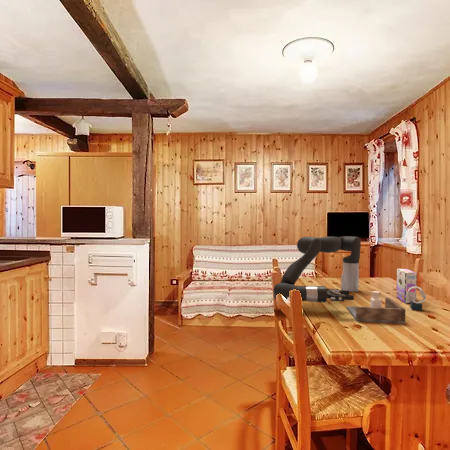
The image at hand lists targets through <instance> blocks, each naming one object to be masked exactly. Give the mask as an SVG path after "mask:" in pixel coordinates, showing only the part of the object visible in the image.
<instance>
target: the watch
mask: <svg viewBox="0 0 450 450" xmlns="http://www.w3.org/2000/svg"><path fill="white" fill-rule="evenodd" d="M413 288H416V289H417V290H418V291H419V294H420V295H421V297H422V298H423V299H422V300H420V301H416V302H415V301H412V299H411V297H410V295H409V291H410V290H411V289H413ZM407 295H408V297H409V299H410V300H411V301H410V303H409V307H410V309H411V311H417V312H419V311H420V312H423V304H422V303H424V302H425V300H426V297H427V295H426V293H425V292H424V290H423V288H422V287H419V286H417V287H416V286H414V287H411V288H409V289H408V291H407Z"/></svg>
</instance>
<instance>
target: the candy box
mask: <svg viewBox="0 0 450 450" xmlns="http://www.w3.org/2000/svg"><path fill="white" fill-rule="evenodd" d="M417 276H418V273H417V272H415V271H413V270H410V269H409V268H396V298H397V299H399V300H400V301H401V302H402V303H404V304H410V301H411V300H410V299H409V297H408V295H407V291H408V289H409V288H411V287H414V286H416V287H418V285H417V284H418V283H417V282H418V280H417V279H418V277H417ZM409 295H410V297H411V299H412V301H415V302H417V288H413V289H411V290H410V291H409Z"/></svg>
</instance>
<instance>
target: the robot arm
mask: <svg viewBox="0 0 450 450" xmlns="http://www.w3.org/2000/svg"><path fill="white" fill-rule="evenodd" d="M361 242H362V241H361V239H360V237H359V236H353V235H352V236H351V235H350V236H348V235H345V236H340V237H337V236H321V237H314V236H302V237H300V238H299V239H298V240H297V243H296V248H297V250H298V251H299V252H300V253H301V254H303V255H302V256H301V257H299V258H298V259H296V260H295V261H294V262H292V263H291V264H290V265H288V267H287V268H286V270H285V272H284V273H283V275H282V277H281V280H280V282H279V283H277V284H275V285H273V294H272V295H273V298H274V300H275V298H276V295H277V294H279V293H280V294H282V295H283V296H284V297H285V298H286V300H288V298H290V297H289V291H290V290H293V289H296V290H299V291H300V293H301V297H302V301H301V302H311V303H327V301H328V299H329V300H330V301H331V302H343V303H344V302H345V301H353V300H355V299H354V298H355V296H354V294H350V292H352V293H358V292H359V291H360V290H359V289H360V288H359V286H360V258H361V249H362V248H361V247H362V245H361V244H362V243H361ZM339 251H344V252H350V255H348V256H343V258H342V274H341V277H340V279H341V280H340V283H341V284H340V285H341V286H340V289H339V288H327V287H326V286H325V285H296V282H297V281H298V279H299V278H300V276H301V274H302V273H303V272H304V270H305V269H306V268H307V267H308V266H309V265H310V264H311V262H312V261H313V260H314V259H315V258H316V257H317V255H318V254H319V253H323V254H324V253H328V254H331V253H337V252H339Z"/></svg>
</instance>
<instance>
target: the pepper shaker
mask: <svg viewBox="0 0 450 450" xmlns="http://www.w3.org/2000/svg"><path fill="white" fill-rule="evenodd" d="M371 293H372V294H371V297H370V298H369V301H370V304H369V305H370V306H369V307H380V308H382V299H381V298H380V295H381V292H380V291H378V290H373V291H372V292H371Z"/></svg>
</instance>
